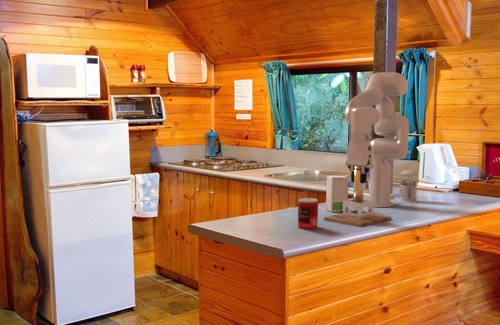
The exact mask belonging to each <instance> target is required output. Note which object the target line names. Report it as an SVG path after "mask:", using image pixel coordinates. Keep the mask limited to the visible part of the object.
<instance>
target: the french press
mask: <svg viewBox="0 0 500 325" xmlns="http://www.w3.org/2000/svg"><path fill="white" fill-rule="evenodd" d="M412 153H413V152H412V150H407V154H409V155H408V157H409V158H408V164H410V161H411V159H410V158H411V154H412ZM400 175H402V176H408V177H407V180H401V181H400V182H401V183H400V184H399V187H400V188H399V199H397V202H400V203H404V204H405V203H409V204H411V203H412V204H416V203H419V201H418V200H417V187H418V186H417V184H416V183H417V181H414V180H413V179H414V178H413V177H411V179H410V176H417V175H418V173H417V172H416V171H414V170H410V169H407V170H403V171H401V172H400Z"/></svg>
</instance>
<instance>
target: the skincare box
mask: <svg viewBox="0 0 500 325" xmlns="http://www.w3.org/2000/svg"><path fill="white" fill-rule="evenodd" d="M325 197H326V198H325V199H326V200H325V210H326V211H328V212H333V213H337V212H340V211H343V200H349V176H345V175H326V196H325Z"/></svg>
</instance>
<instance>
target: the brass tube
mask: <svg viewBox="0 0 500 325" xmlns="http://www.w3.org/2000/svg"><path fill="white" fill-rule="evenodd" d="M361 174H362V168H361V166H356V165H355V166H354V182H353V193H352V195H353V198H352V199H353V201H354V202H363V199H364V185H365V183H361Z"/></svg>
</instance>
